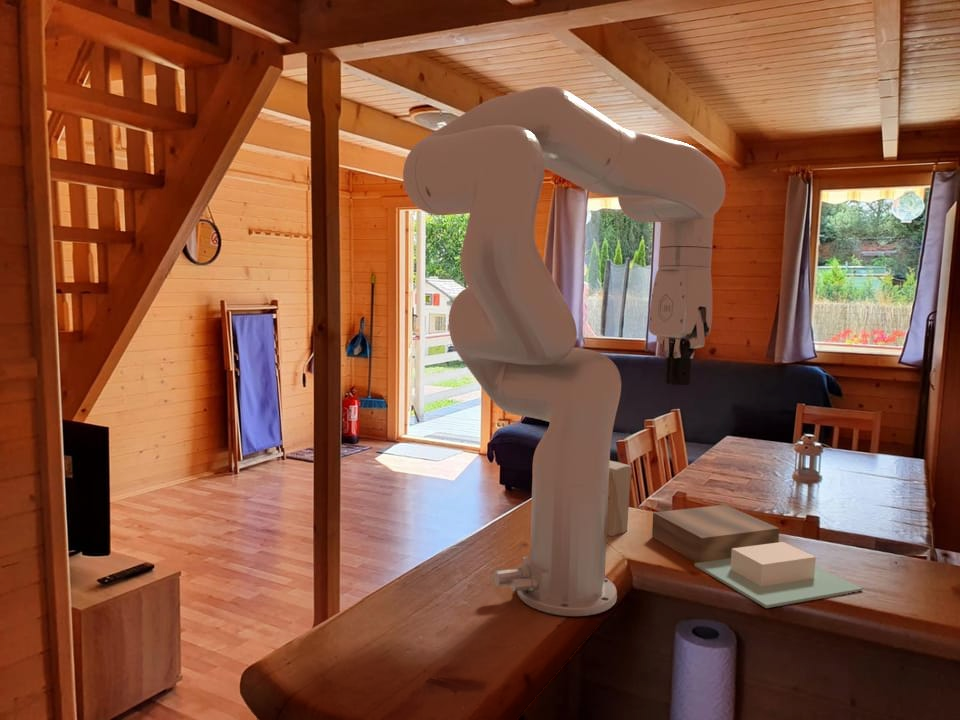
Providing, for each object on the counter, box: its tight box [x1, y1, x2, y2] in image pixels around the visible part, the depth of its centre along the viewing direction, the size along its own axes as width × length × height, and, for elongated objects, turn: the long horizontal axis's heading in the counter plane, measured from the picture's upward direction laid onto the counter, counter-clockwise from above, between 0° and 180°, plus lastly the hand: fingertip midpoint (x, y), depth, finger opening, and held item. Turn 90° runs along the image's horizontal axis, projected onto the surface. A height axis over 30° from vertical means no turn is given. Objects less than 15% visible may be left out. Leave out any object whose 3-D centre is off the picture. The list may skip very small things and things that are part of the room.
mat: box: [694, 558, 864, 609], centre depth 97 cm, size 16×14×1 cm
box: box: [607, 460, 632, 537], centre depth 114 cm, size 5×4×11 cm
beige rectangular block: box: [730, 541, 817, 587], centre depth 97 cm, size 9×6×3 cm, turn 110°
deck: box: [651, 504, 780, 563], centre depth 109 cm, size 14×12×4 cm
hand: (677, 383), depth 106 cm, fingers closed
